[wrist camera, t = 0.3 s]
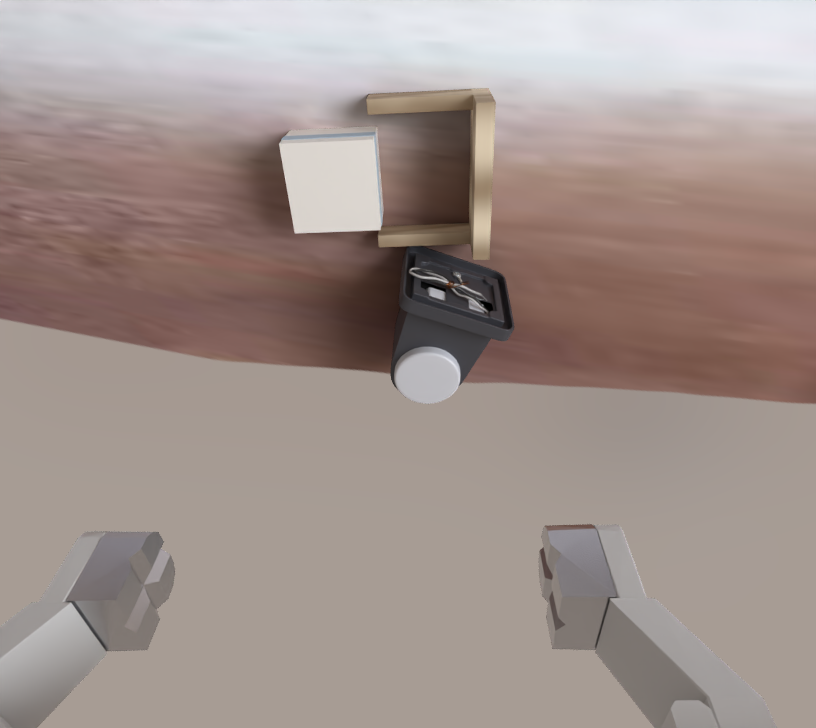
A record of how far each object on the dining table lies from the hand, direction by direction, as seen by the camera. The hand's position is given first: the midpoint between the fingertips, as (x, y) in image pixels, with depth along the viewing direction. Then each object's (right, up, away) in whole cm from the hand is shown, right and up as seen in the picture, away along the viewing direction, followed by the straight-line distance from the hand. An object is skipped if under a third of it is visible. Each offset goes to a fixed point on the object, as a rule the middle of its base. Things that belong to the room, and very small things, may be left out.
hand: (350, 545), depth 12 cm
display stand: (+3, +22, +41) cm, 47 cm away
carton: (-5, +22, +41) cm, 47 cm away
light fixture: (+4, +10, +50) cm, 51 cm away
